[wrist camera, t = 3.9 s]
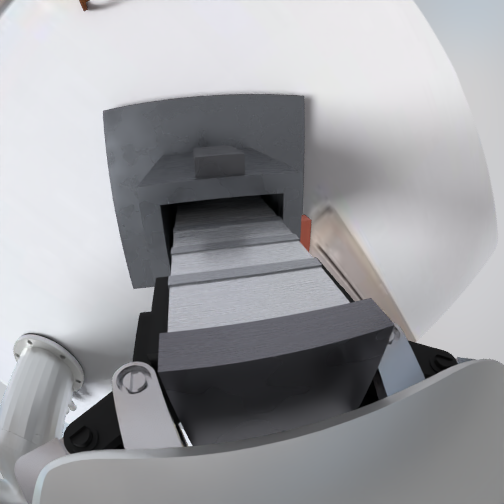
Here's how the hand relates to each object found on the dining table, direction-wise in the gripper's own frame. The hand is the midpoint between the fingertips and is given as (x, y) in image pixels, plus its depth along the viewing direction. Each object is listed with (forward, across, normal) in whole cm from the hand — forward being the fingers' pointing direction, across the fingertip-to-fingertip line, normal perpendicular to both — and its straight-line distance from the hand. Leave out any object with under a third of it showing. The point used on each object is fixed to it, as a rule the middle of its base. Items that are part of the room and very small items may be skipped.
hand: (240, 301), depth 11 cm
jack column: (+15, 0, 0) cm, 15 cm away
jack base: (+18, 0, 0) cm, 18 cm away
